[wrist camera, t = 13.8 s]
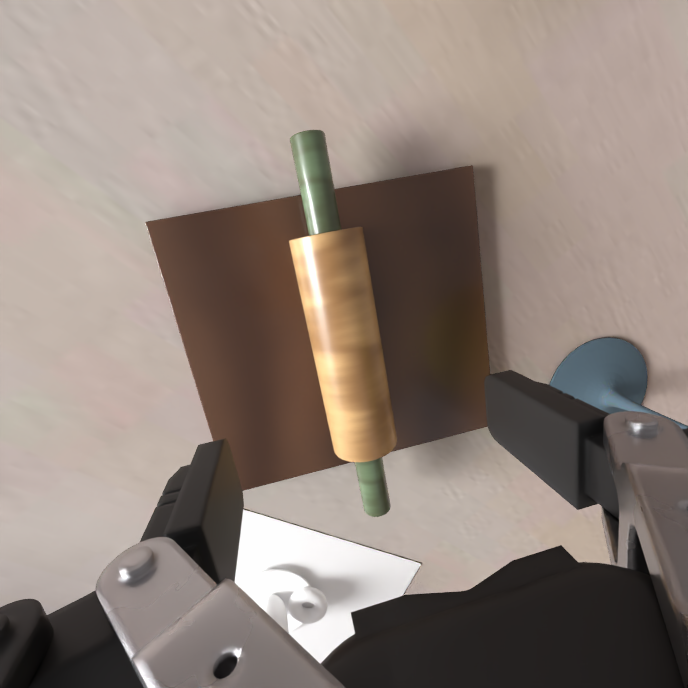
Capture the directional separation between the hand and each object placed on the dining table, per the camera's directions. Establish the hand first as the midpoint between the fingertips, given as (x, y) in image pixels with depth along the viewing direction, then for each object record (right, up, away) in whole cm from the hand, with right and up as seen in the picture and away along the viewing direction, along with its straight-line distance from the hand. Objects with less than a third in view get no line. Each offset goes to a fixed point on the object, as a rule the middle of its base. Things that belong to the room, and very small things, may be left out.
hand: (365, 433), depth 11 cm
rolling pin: (-1, +3, +18) cm, 18 cm away
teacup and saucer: (-6, -24, +25) cm, 36 cm away
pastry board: (-1, +3, +19) cm, 20 cm away
